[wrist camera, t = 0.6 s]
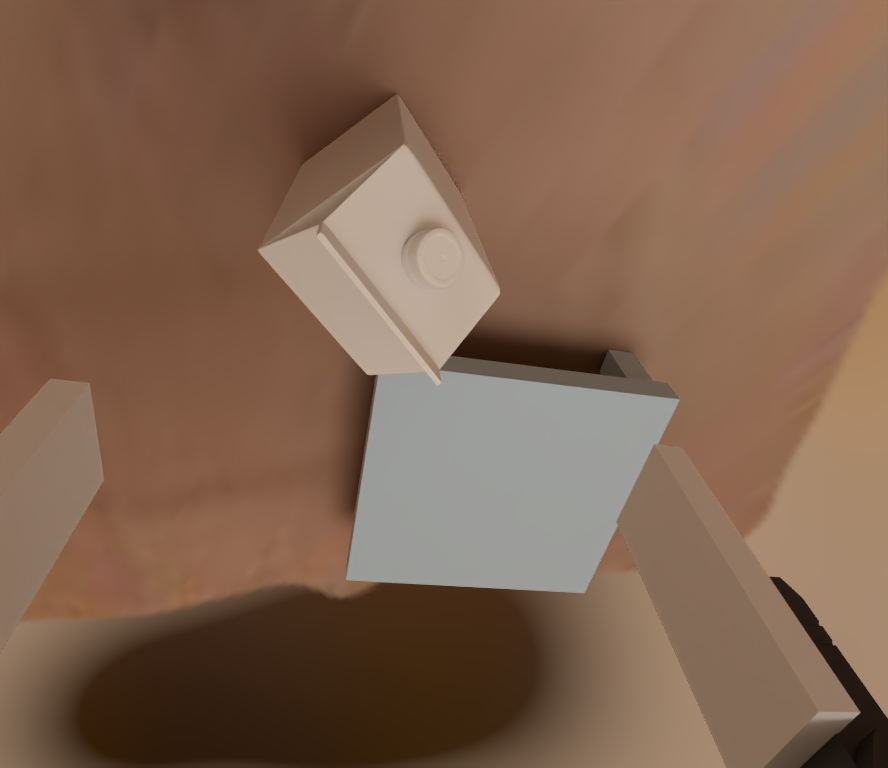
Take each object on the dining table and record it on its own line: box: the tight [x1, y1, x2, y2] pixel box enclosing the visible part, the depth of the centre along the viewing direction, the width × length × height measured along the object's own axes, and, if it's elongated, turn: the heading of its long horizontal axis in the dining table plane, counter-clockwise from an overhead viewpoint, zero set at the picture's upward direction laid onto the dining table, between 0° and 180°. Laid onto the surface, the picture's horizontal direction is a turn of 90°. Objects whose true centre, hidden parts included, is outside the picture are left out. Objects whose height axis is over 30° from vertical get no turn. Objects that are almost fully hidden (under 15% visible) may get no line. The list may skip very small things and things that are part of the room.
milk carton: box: [258, 94, 500, 386], centre depth 28 cm, size 7×7×19 cm
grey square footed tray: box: [346, 349, 680, 593], centre depth 45 cm, size 20×20×7 cm
